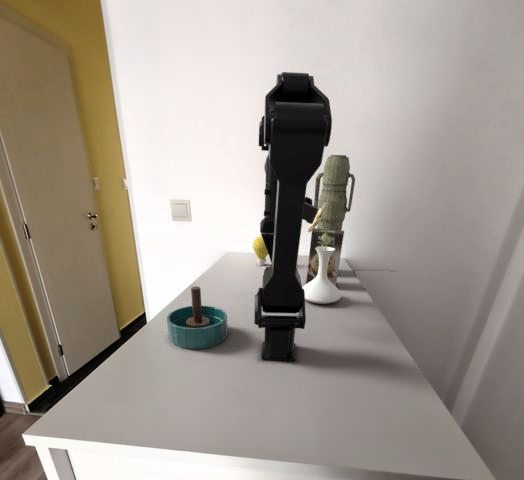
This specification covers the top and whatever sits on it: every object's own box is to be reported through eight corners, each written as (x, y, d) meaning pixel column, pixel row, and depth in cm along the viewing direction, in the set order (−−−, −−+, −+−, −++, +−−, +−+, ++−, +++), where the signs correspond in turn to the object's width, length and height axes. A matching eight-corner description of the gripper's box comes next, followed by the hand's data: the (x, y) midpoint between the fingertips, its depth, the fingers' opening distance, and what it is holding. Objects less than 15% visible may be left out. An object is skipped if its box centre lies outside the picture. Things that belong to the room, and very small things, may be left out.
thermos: (309, 267, 120) (321, 155, 103) (342, 271, 117) (360, 156, 100) (304, 273, 113) (315, 154, 96) (339, 278, 109) (357, 155, 92)
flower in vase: (307, 290, 98) (317, 197, 86) (345, 297, 93) (361, 200, 81) (289, 303, 88) (296, 200, 76) (330, 313, 83) (345, 204, 71)
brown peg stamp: (214, 334, 70) (212, 289, 65) (194, 341, 67) (190, 293, 62) (202, 326, 73) (200, 282, 68) (183, 332, 70) (178, 286, 65)
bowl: (221, 351, 64) (221, 330, 62) (161, 347, 65) (158, 326, 63) (231, 325, 75) (230, 306, 73) (178, 322, 75) (177, 303, 73)
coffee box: (305, 286, 101) (310, 231, 93) (307, 280, 106) (313, 227, 98) (335, 289, 99) (343, 233, 91) (336, 283, 104) (344, 229, 97)
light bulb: (250, 262, 123) (250, 234, 118) (267, 262, 125) (268, 234, 120) (255, 267, 117) (255, 238, 112) (273, 266, 119) (274, 237, 114)
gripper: (322, 187, 60) (313, 273, 67) (315, 183, 76) (308, 252, 84) (261, 185, 60) (258, 270, 68) (266, 181, 77) (264, 250, 84)
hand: (275, 259), depth 76 cm, fingers open, 9 cm apart
